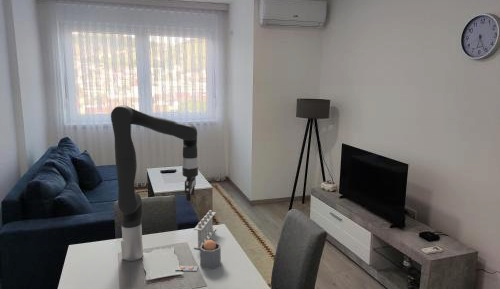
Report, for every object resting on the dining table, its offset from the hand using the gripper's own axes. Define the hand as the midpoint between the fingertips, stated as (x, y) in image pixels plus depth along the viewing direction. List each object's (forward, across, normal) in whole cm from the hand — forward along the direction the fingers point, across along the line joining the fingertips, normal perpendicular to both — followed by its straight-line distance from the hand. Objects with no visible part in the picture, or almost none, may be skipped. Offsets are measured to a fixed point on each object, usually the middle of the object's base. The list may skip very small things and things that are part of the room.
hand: (190, 197), depth 172 cm
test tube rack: (+30, -16, +5) cm, 34 cm away
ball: (+21, +9, +11) cm, 25 cm away
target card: (+30, +16, +1) cm, 33 cm away
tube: (+29, +10, +12) cm, 33 cm away
